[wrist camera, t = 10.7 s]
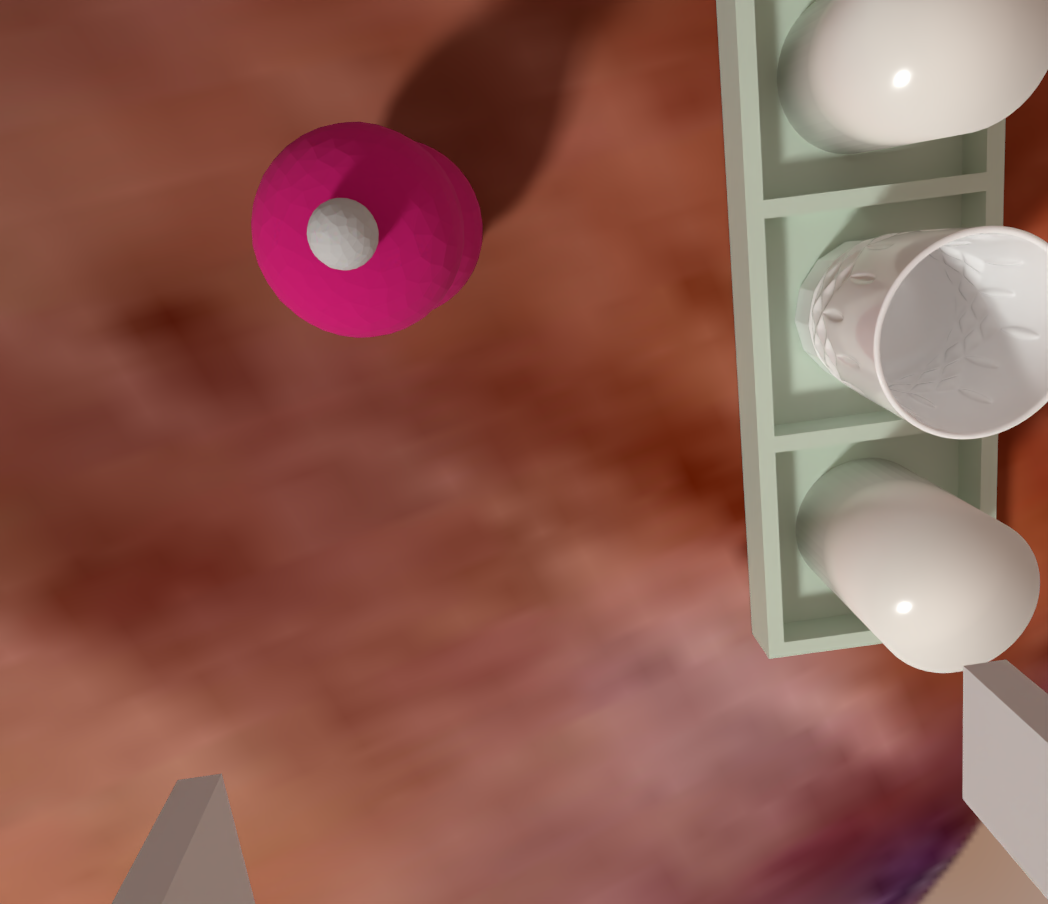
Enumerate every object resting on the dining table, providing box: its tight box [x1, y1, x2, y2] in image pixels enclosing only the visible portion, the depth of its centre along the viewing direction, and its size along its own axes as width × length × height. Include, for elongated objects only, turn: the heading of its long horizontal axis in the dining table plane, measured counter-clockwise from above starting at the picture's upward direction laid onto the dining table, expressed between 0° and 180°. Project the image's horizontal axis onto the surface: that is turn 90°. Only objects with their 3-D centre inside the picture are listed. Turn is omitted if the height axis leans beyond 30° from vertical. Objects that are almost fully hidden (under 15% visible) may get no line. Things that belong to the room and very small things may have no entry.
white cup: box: [794, 226, 1048, 439], centre depth 37 cm, size 8×8×10 cm
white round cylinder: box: [777, 0, 1048, 155], centre depth 34 cm, size 7×7×9 cm
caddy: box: [716, 0, 1006, 659], centre depth 41 cm, size 33×12×3 cm, turn 7°
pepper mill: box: [251, 122, 483, 338], centre depth 31 cm, size 7×7×20 cm
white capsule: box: [796, 458, 1040, 673], centre depth 40 cm, size 7×7×9 cm
